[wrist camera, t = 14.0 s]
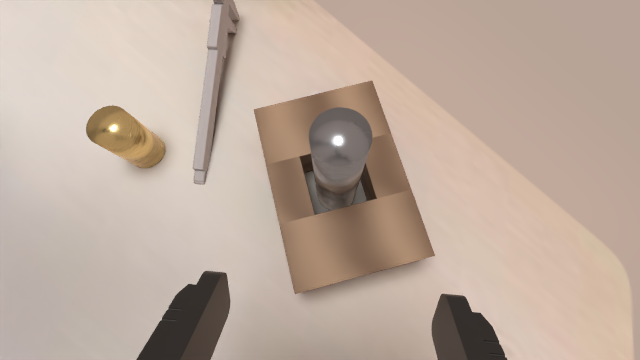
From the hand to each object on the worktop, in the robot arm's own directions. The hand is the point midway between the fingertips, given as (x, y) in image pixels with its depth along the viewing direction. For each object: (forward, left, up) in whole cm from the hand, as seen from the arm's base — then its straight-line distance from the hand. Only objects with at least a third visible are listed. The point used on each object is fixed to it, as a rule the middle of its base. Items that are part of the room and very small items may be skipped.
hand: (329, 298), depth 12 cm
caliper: (-6, +22, -17) cm, 28 cm away
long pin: (+3, +8, -17) cm, 19 cm away
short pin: (-15, +17, -17) cm, 28 cm away
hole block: (+3, +8, -17) cm, 19 cm away
